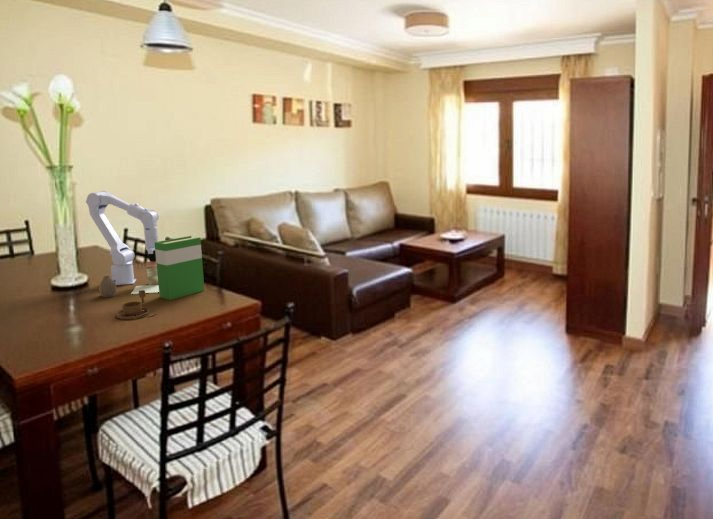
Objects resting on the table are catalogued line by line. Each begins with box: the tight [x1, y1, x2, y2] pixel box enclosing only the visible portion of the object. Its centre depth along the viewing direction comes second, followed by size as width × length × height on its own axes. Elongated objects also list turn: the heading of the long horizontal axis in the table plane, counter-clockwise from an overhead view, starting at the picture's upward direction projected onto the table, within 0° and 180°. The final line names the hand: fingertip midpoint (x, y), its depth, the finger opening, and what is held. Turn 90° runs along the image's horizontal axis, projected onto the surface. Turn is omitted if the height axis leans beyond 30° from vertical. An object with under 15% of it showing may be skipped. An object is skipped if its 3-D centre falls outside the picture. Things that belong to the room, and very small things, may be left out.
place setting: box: [115, 290, 156, 320], centre depth 215 cm, size 18×20×6 cm
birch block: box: [145, 260, 158, 285], centre depth 253 cm, size 5×5×10 cm
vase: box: [98, 275, 118, 298], centre depth 236 cm, size 7×7×9 cm
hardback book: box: [154, 235, 205, 301], centre depth 236 cm, size 18×7×24 cm, turn 142°
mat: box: [130, 284, 159, 295], centre depth 246 cm, size 16×13×1 cm
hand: (154, 265), depth 255 cm, fingers closed
